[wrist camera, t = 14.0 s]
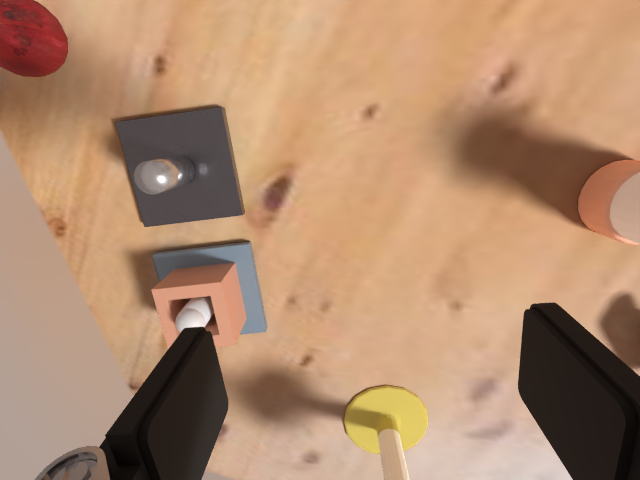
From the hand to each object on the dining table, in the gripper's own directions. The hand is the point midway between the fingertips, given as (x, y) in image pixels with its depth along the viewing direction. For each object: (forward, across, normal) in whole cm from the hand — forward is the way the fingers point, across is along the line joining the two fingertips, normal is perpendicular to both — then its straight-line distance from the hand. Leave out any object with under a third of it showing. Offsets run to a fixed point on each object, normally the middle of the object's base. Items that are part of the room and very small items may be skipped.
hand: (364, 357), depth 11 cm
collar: (+24, +15, +9) cm, 30 cm away
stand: (+25, +16, -4) cm, 30 cm away
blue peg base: (+25, +15, +9) cm, 31 cm away
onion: (+26, +25, -15) cm, 39 cm away
